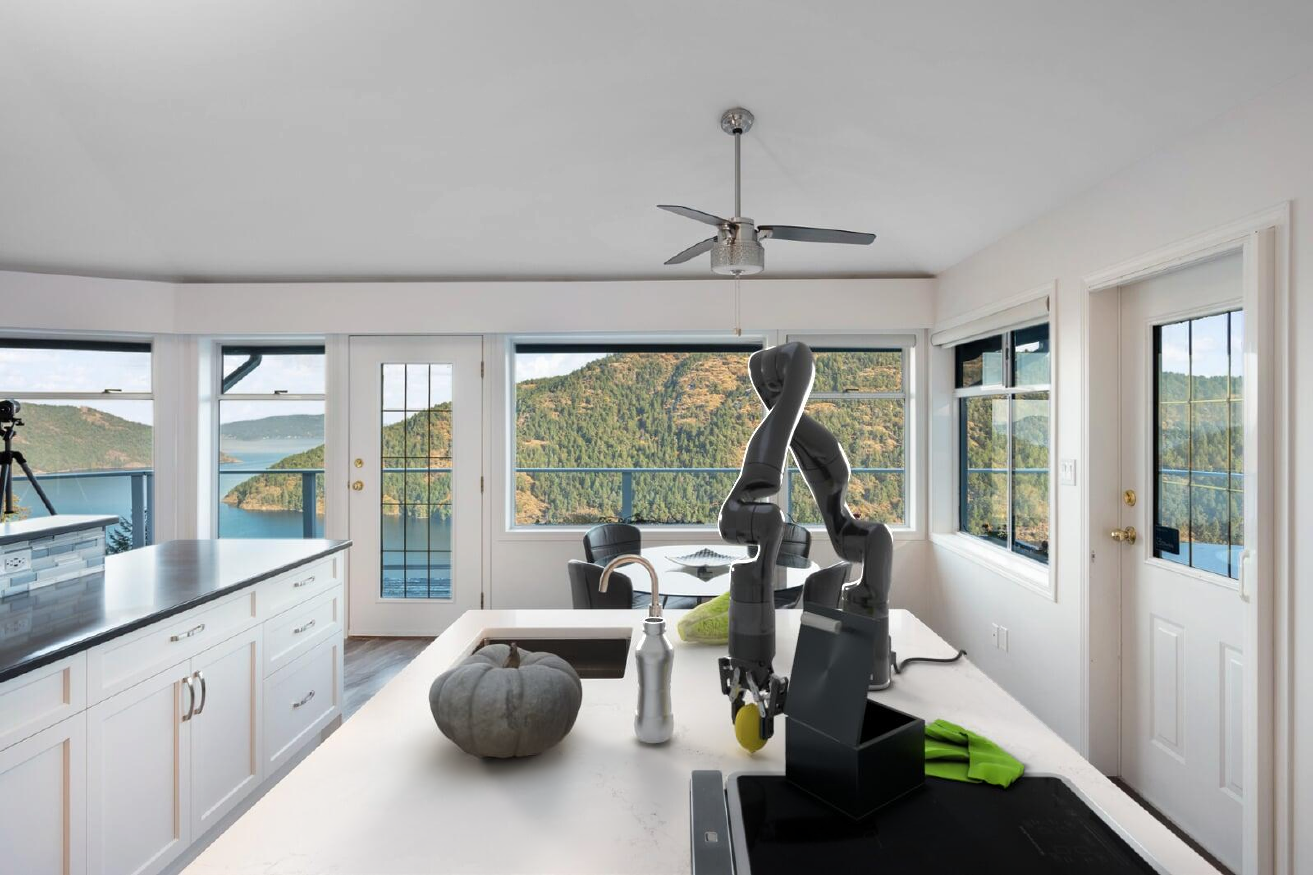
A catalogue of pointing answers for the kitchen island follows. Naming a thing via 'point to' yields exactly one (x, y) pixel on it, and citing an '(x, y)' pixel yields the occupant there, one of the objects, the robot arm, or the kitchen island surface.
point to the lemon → (749, 728)
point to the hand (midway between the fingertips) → (751, 730)
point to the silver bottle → (654, 683)
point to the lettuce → (707, 622)
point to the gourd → (506, 701)
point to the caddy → (858, 763)
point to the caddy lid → (832, 671)
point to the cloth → (967, 756)
